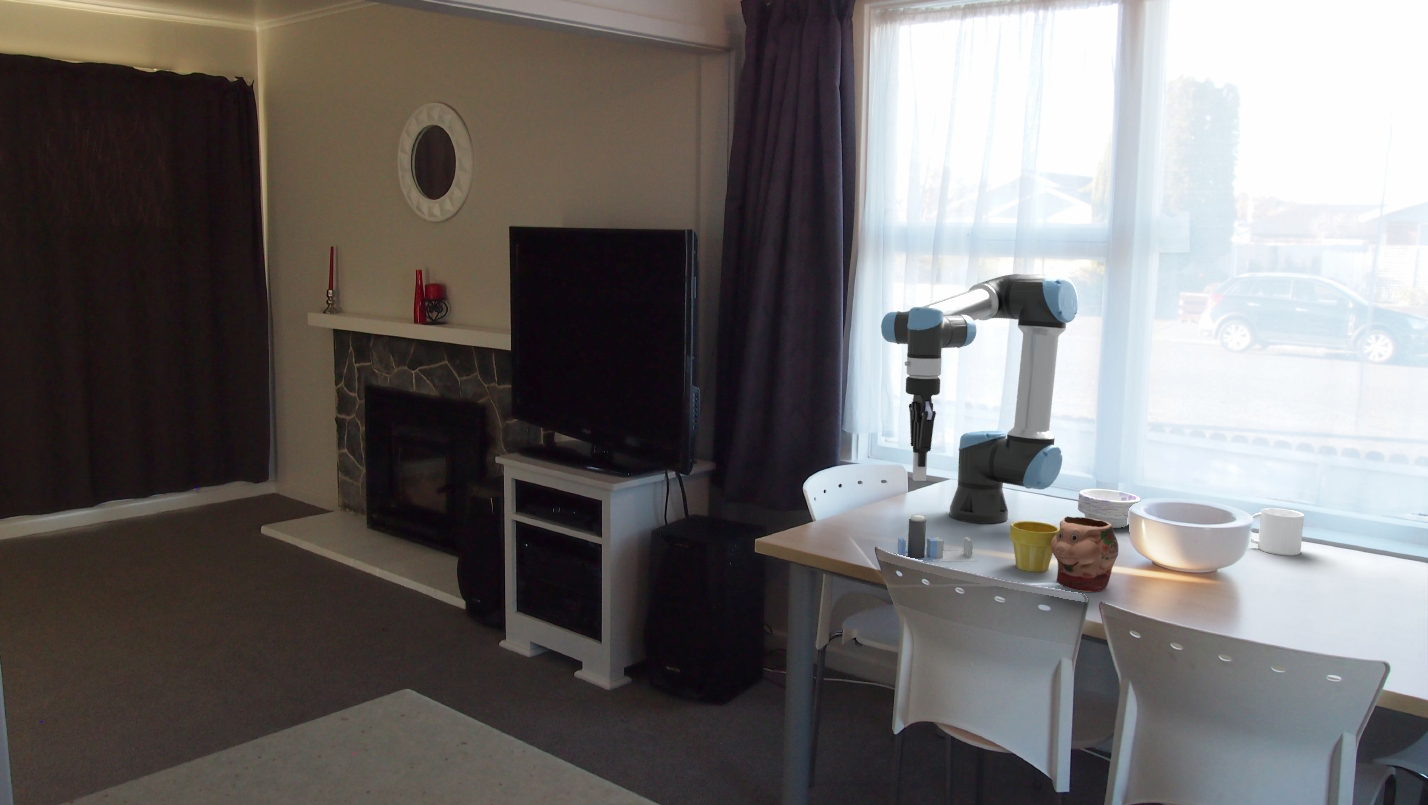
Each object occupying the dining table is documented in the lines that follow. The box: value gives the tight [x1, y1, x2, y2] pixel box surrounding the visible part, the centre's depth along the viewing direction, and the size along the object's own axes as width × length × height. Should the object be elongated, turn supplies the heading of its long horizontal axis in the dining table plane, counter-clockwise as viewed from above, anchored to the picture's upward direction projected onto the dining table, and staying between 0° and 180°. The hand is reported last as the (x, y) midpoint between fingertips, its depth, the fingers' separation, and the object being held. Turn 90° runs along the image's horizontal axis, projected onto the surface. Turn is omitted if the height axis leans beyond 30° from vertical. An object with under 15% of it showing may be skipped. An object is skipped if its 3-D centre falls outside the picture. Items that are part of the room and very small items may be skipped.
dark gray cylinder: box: [907, 514, 927, 559], centre depth 232 cm, size 4×4×9 cm
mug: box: [1250, 507, 1305, 557], centre depth 244 cm, size 12×9×9 cm
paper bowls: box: [1077, 488, 1142, 529], centre depth 267 cm, size 15×15×8 cm
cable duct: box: [893, 536, 977, 563], centre depth 233 cm, size 17×8×4 cm, turn 95°
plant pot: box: [1009, 520, 1060, 573], centre depth 225 cm, size 10×10×10 cm
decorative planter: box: [1051, 516, 1119, 593], centre depth 215 cm, size 20×12×14 cm, turn 135°
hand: (919, 479), depth 231 cm, fingers closed
